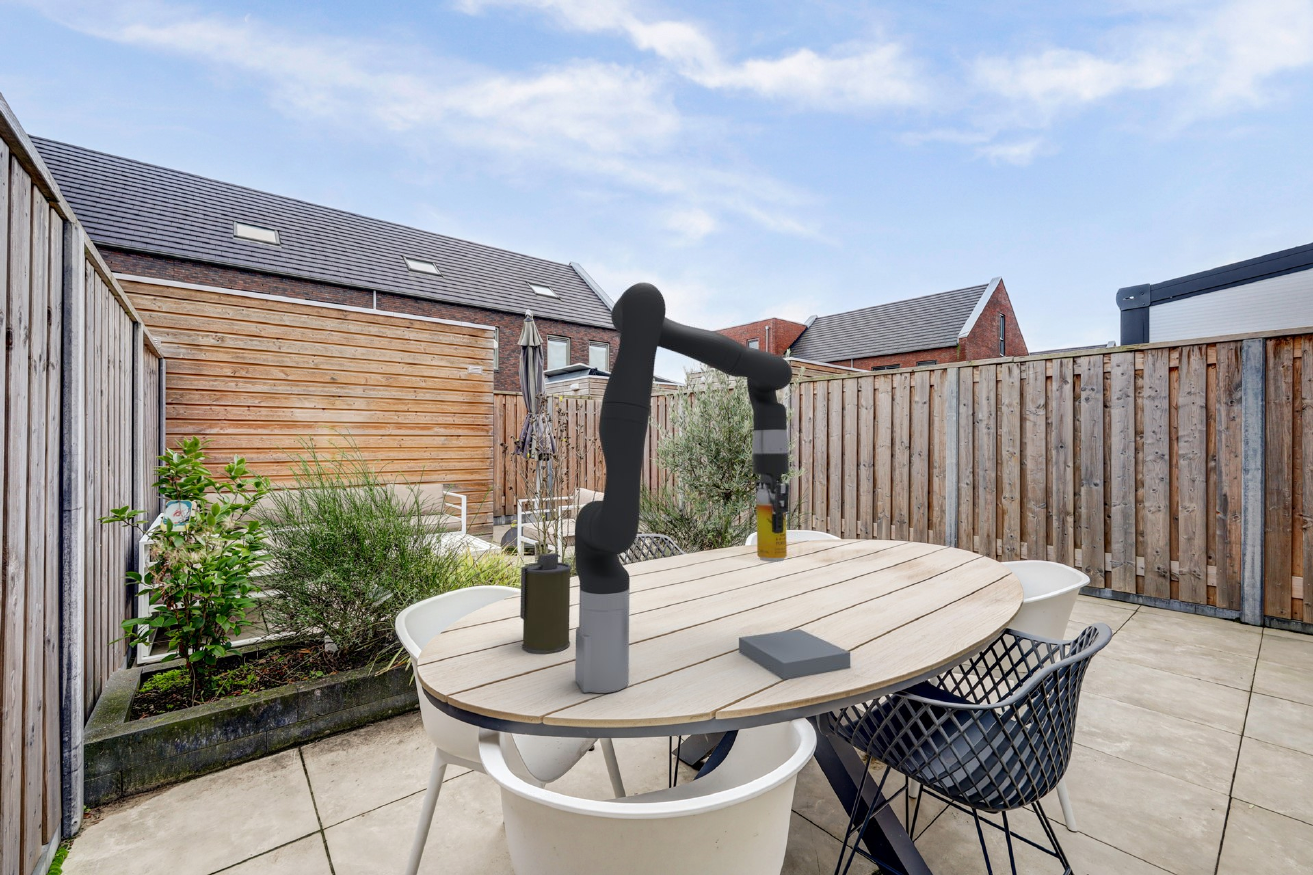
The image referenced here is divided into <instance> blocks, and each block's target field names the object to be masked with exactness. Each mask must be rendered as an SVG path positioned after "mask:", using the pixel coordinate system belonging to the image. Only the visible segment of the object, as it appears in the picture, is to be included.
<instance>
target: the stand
mask: <svg viewBox="0 0 1313 875" xmlns="http://www.w3.org/2000/svg"><path fill="white" fill-rule="evenodd" d="M738 652H739V654H742V655H743V656H745V657H747V658H748V659H750V660H752V661H753V662H755V663H757V664H758V665H760V666H761V667H763V668H765V669H766V670H768V671H769V672H771V673H772V674H774V675H776V676H777V677H779V678H781V679H782V680H784V681H785V680H789V679H794V678H796V679H797V678H799V677H806V676H811V675H817V674H818V675H819V674H823V673H827V672H833V671H839V670H844V669H845V670H846V669H850V668H851V651H848V650H846V649H845V648H841V647H840V646H838V645H836V644H833V643H831V642H829V641H826V640H824V639H822V638H820V637H818V636H815V635H814V634H811V633H808V632H807V631H805V630H803V629H800V628H798V629H789V630H783V631H777V632H769V633H761V634H753V635H748V636H740V637H738Z"/></svg>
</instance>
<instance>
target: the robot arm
mask: <svg viewBox="0 0 1313 875" xmlns="http://www.w3.org/2000/svg"><path fill="white" fill-rule="evenodd" d="M666 310H667V309H666V302H665V299H664V296H663V294H662V292H661V290H660V289H658V288H657V287H656V286H655V285H654V284H652V283H649V282H639V283H635V284H633V285H631V286H630V287H629V288H627V289H626V290H625V291H624V292H623V293H622V294H621V295H620V297H619V298H618V299H617V301H616V302H615V304H614V305H613V307H612V310H611V315H610V316H611V323H612V325H613V328H614V329H615V330H616V331H617V333H619V335H620V336H619V345H618V349H617V354H616V358H615V361H614V363H613V366H612V369H611V371H610V374H609V377H608V380H607V383H606V386H605V388H604V392H603V396H602V400H601V401H602V402H601V408H600V414H599V420H598V435H599V442H600V446H601V451H602V454H603V458H604V463H605V471H606V472H605V485H604V492H603V497H602V500H593V501H589V502H587V503H586V504H585V505H583V506H582V507H581V508H580V510H579V512H578V514H577V516H576V519H575V524H574V525H575V526H574V555H575V559H574V560H575V562H574V563H575V571H576V574H577V577H578V580H579V602H578V603H579V606H578V608H579V610H578V611H579V612H578V618H579V619H578V620H579V621H578V627H577V628H575V660H574V661H575V662H574V663H575V664H574V666H575V670H574V671H575V672H574V674H575V675H574V680H575V682H576V684H577V686H579V688H580V690H581V692H582V693H596V694H607V693H614V692H617V691H620V690H622V689H623V690H624V689H625V688H626V687H627V686H628V685H629V681H630V680H629V679H630V678H629V677H630V676H629V675H630V674H629V673H630V667H629V664H630V585H631V584H630V574H629V571H628V570H627V569H626V568H625V567H624V565H623V564H622V562H621V561H620V559H619V555H621V554H624V553H626V552H627V551H629V549H630V548H631V547H632V546H633V545H634V543H635V541H636V538H637V535H638V531H639V524H640V510H641V508H640V506H641V502H640V501H641V500H640V499H641V483H642V482H641V481H642V471H643V460H644V454H645V446H646V445H645V444H646V438H647V437H646V436H647V432H648V427H649V426H648V425H649V421H650V420H649V419H650V411H651V399H652V391H653V384H654V374H655V362H656V355H657V351H658V350H657V349H658V347H659V348H662V349H666V350H668V351H671V352H674V353H677V354H680V355H682V356H685V357H688V358H690V359H693V360H695V361H697V362H700V363H702V364H704V365H705V366H706V365H707V366H708V367H710V368H713V369H715V370H717V371H719V372H721V373H723V374H726V375H728V376H730V377H734V378H735V377H736V378H740V377H742V378H743V377H744V378H746V387H747V392H748V396H749V397H748V398H749V401H750V405H751V408H752V410H753V411H752V412H753V417H752V418H753V419H752V421H753V425H752V426H753V429H752V430H753V435H752V473H753V474H754V475H760V479H759V480H755V481H754V487H755V495H756V494H757V492H758V489H759V488H760V489H766V490H767V493H768V503H769V504H770V505H771V512H772V532H773V533H782V532H783V514H785V512H786V513H788V512H789V496H790V495H789V494H790V484H789V483H788V482H784V483H783V479H782V475H787V474H789V472H790V464H789V463H790V460H789V459H790V458H789V438H788V437H789V436H788V431H787V429H788V426H787V425H788V424H787V422H788V421H787V409H786V406H785V405H784V404H783V403H781V402H779V401H778V396H777V391H780V390H783V389H785V388H786V387H788V386H789V384H790V383H791V382H792V379H793V369H792V367H791V364H790V363H789V362H788V361H787V360H785V358H783V357H781V356H780V355H777V354H775V353H772V352H768V351H765V350H761V349H760V348H758V349H757V348H753V347H751V346H750V347H749V346H747V345H745V344H743V343H741V342H739V341H737V340H735V339H734V338H731V337H729V336H726V335H724V334H722V333H719V332H717V331H713V330H709V329H704V328H700V327H699V328H698V327H694V326H690V325H686V324H682V323H680V322H676V321H674V320H672V319H670V318H668V317H666ZM768 489H770V491H769V490H768ZM770 492H771V493H772V494H775V499H772V498H771V495H770ZM774 503H775V505H774ZM783 503H784V504H783ZM779 504H780V506H779ZM755 505H756V507H757V500H756V499H755Z"/></svg>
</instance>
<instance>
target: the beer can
mask: <svg viewBox="0 0 1313 875" xmlns="http://www.w3.org/2000/svg"><path fill="white" fill-rule="evenodd" d="M768 490H769V491H770V489H768ZM770 495H771V498H772V499H775V494H772V493H771V492H770ZM756 500H757V506H756V541H757V542H756V544H757V545H756V546H757V547H756V549H757V550H756V551H757V552H756V553H757V556H758V558H759V560H760V561H763V562H768V563H769V562H770V563H772V562H775V563H776V562H777V563H778V562H784V561H785V559H786V557H787V556H788V554H787V553H788V552H787V551H788V550H787V545H788V544H787V512H785V514H783V532H782V533H773V532H772V512H771V505H770V504H769V503H768V493H767V490H766V489H760V488H759V489H758V492H757V494H756V493H755V501H756ZM783 504H784V503H783ZM774 505H775V503H774ZM779 506H780V504H779Z"/></svg>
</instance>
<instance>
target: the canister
mask: <svg viewBox="0 0 1313 875" xmlns="http://www.w3.org/2000/svg"><path fill="white" fill-rule="evenodd" d="M558 558H561V555H560V554H558V553H556V552H551V553H539V555H538V559H537V561H536V562H535V563H530V564H526V565H525V566H521V568H520V571H521V572H520V573H521V574H520V576H521V577H520V609H519V610H520V616H519V617H520V619H522V620H523V624H522V626H523V627H522V629H523V632H522V636H523V637H522V644H521V648H522V650H523V651H525V652H527V653H531V654H538V655H546V654H553V653H559V652H562V651H564V650H566V649H568V648H569V647H570V645H571V642H570V608H571V605H570V600H571V598H570V597H571V595H570V594H571V592H570V591H571V569H572V565H571V564H569V563H564V562H559V561H558Z"/></svg>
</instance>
